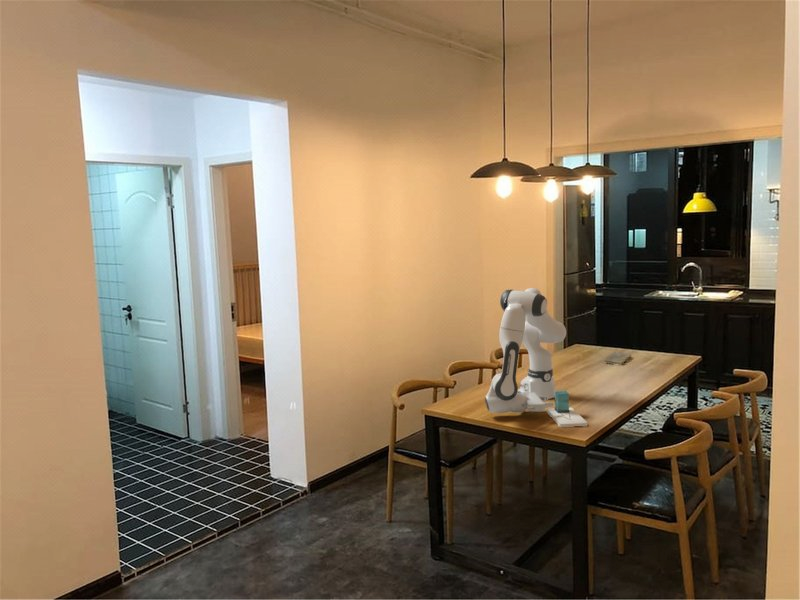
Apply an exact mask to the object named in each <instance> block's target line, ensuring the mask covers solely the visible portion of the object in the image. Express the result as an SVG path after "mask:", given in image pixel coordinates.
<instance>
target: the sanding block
mask: <svg viewBox="0 0 800 600" xmlns="http://www.w3.org/2000/svg"><path fill="white" fill-rule="evenodd" d="M569 394H570V393H569V392H568V391H566V390H555V397H554V408H555V411H556V412H557V413H569V408H570V400H569V399H570V396H569Z"/></svg>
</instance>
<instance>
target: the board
mask: <svg viewBox="0 0 800 600" xmlns="http://www.w3.org/2000/svg"><path fill="white" fill-rule="evenodd" d="M545 411H546V413H547V414H548V415H549V417H552V418H553V419H552V418H551V419H552V420H553V421H554V422H555V423H556V424H557V425H558V427H559V426H560V428H575V427H574V426H583V427H588V426H589V424H588V421H586V419H585V418H584V417H582V416H581V415H580V414H579V413H578V412H577V411H576V410H575V409H574V408H573V407H569V413H557V412H556V411H555V407H554V408H553V407H552V408H550V407H549V408H545ZM587 425H588V426H587Z"/></svg>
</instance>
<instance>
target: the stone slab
mask: <svg viewBox="0 0 800 600" xmlns="http://www.w3.org/2000/svg"><path fill="white" fill-rule="evenodd" d="M630 356H631V357H632V355H631V354H629V353H625V352H620V351H613V352H611V353H610V354H608V355H607V357H606V358H605V359H604V362H605V364H607V363H612V364H611V365H613V364H619V365H618V366H621V365H622V364H623V363H624V362H625V361H626V360H628V359H629V358H630ZM630 359H631V358H630ZM630 359H629V360H630ZM629 360H628V361H629ZM626 362H627V361H626ZM626 362H625V363H626ZM625 363H624V364H625ZM624 364H623V365H624ZM623 365H622V366H623Z"/></svg>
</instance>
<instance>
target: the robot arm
mask: <svg viewBox="0 0 800 600" xmlns="http://www.w3.org/2000/svg"><path fill="white" fill-rule="evenodd" d="M500 307H501V309H502V311H503V315H502V318H501V321H500V327H499V331H498V333H499V334H498V340H499V344H500V347H501V349H502V354H503V361H502V369H501V372H499V373H496V374H495V375H494V376H493V377H492V380H491V383H490V388H489V390H488V392H487V394H486V395H485V396H484V403H485V406H486V409H487V411H489V413H494V414H505V413H525V412H526V411H529V412H535V413H536V412H537V413H538V412H541V413H542V412H545V411H546V409H548V408H550V407H554V402H553V401H549V400H550V399H553V398H554V399H555V391H556V384H555V379H554V377H553V376H554V374H553V373H554V372H553V371H554V370H553V366H552V363H553V361H552V354H551V352H550V351H549V350H548V349H545V348H544V347H543V346H542V345H541V343H543V344H544V343H545V344H555V343H561V342H563V341H564V340H565V338H566V336H567V329H566V327H565V324H564V323H562V322H560V321H558V320H556V319H555V318H553V317H552V316H551V315H550V314H549V312H548V310H547V307H548V300H547V298H546V297H545V296H544V295H542V293H541V291H540V290H539V289H538V288H535V287H530V288H529V287H528V288H526V289H525V290H516V289H515V290H514V289H505V290H504V291H503V292H502V293H501V296H500ZM522 344H523V345H524V347H525V348H526V350H527V353H528V359H529V361H528V362H529V368H528V369H527V376H525V377H524V378H523V379H522V380H520V387H519V388H518V383H517V377H516V376H517V370H518V362H519V361H518V360H519V353H520V351H521V347H522Z"/></svg>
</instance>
